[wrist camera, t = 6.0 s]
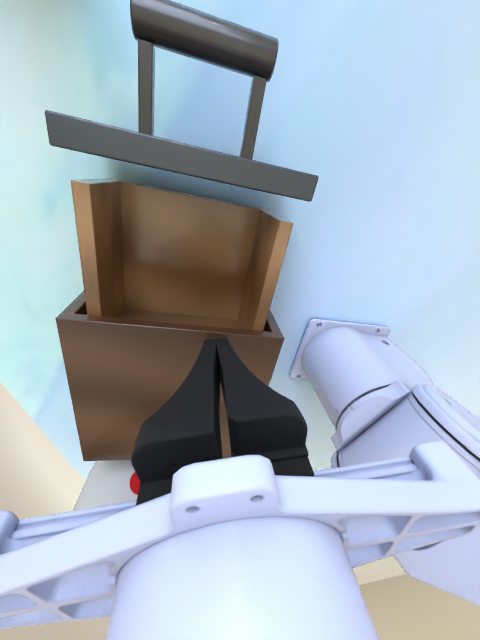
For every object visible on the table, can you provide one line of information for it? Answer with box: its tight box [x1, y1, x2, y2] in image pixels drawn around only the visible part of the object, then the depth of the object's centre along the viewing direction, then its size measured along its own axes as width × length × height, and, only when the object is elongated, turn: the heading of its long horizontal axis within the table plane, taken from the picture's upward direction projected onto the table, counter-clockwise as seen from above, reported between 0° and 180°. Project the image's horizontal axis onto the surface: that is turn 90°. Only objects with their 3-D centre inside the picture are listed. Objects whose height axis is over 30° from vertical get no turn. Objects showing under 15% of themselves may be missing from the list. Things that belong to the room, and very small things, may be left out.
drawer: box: [45, 0, 318, 331], centre depth 16 cm, size 17×12×6 cm
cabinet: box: [56, 291, 284, 461], centre depth 21 cm, size 13×13×8 cm
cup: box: [73, 460, 140, 511], centre depth 26 cm, size 8×8×10 cm
